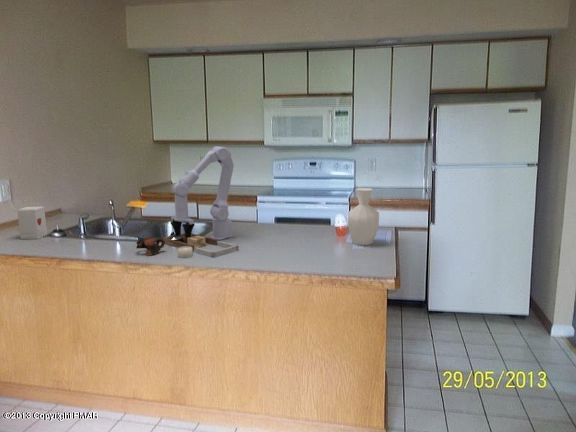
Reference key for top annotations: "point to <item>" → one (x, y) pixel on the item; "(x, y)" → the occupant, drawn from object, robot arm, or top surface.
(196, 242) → the oak block
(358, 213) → the vase
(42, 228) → the supplement box
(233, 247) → the grey corral
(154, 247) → the pottery mug
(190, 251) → the cream egg-shaped dome
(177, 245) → the brown u-shaped frame
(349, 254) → the top surface
